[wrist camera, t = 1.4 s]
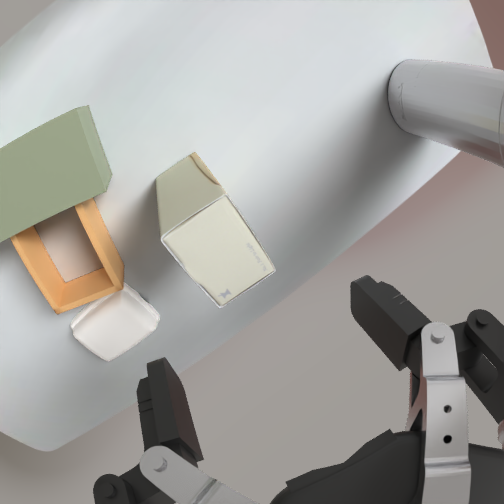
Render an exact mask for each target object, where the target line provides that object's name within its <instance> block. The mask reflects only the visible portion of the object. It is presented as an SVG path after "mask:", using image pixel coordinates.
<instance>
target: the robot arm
mask: <svg viewBox="0 0 504 504" xmlns="http://www.w3.org/2000/svg"><path fill="white" fill-rule="evenodd" d="M388 101H389V106H390V110H391V113H392V116H393V118H394V120H395V121H396V123H397V124H398V125H399V126H400V128H402V129H403V130H404V131H406V132H408V133H411V134H414V135H417V136H421V137H424V138H427V139H430V140H433V141H436V142H439V143H441V144H444V145H447V146H450V147H453V148H456V149H458V150H461V151H464V152H467V153H469V154H472V155H474V156H477V157H479V158H482V159H484V160H487V161H489V162H492V163H494V164H496V165H498V166H501V167H503V168H504V70H499V69H494V68H488V67H482V66H475V65H469V64H461V63H452V62H443V61H433V60H416V59H409V60H405V61H403V62H402V63H400V64H399V65H398V66H397V67H396V68H395V70H394V72H393V73H392V75H391V78H390V82H389V88H388ZM350 287H351V312H352V315H353V317H354V319H355V320H356V321H357V323H358V324H359V325H360V326H361V327H362V328H363V329H364V331H365V332H366V333H367V334H368V335H369V336H370V338H372V340H373V341H374V342H375V343H376V344H377V346H378V347H379V348H380V349H381V350H382V351H383V352H384V354H385V355H386V356H387V357H388V358H389V360H390V361H391V362H392V363H393V364H394V366H395V367H396V368H397V369H398V370H399V371H401V370H402V369H404V368H405V367H408V368H409V369H410V370H411V371H410V394H409V395H410V396H409V413H408V418H407V422H406V429H405V431H402V432H397V433H392V431H391V430H390V429H389V430H387V431H385V432H384V433H382V434H381V435H379V436H377V437H376V438H374V439H372V440H370V441H369V442H367V443H366V444H364V445H363V446H362V447H361V448H360V449H359V450H358V451H357V452H356V453H355V454H353V455H352V456H351V457H350V458H349V459H348V460H347V461H345V462H344V463H341V464H338V465H334V466H330V467H325V468H320V469H316V470H312V471H310V472H307V473H305V474H303V475H301V476H298V477H296V478H294V479H291V480H289V481H286V484H287V487H286V488H285V489H283V490H282V491H281V492H280V493H279V494H277V495H276V497H275V498H274V499H273V500H272V501H271V503H270V504H504V326H503V325H502V324H501V323H500V322H499V321H498V320H497V319H496V318H495V317H494V316H493V315H492V314H491V313H490V312H488V311H486V310H481V309H478V310H474V311H472V312H471V313H470V314H469V316H468V318H467V321H466V322H462V323H459V324H455V325H452V326H448V325H446V324H444V323H441V322H431V321H430V320H429V319H428V318H427V317H426V316H425V315H424V314H423V313H422V312H420V311H419V310H418V309H417V308H416V307H415V306H414V305H413V304H412V303H411V302H410V301H407V299H406V298H405V297H404V296H403V295H401V294H400V292H399V291H398V290H396V289H395V288H394V287H393V286H391V285H389V284H387V283H384V282H382V281H381V282H379V283H376V281H374V280H373V279H372V278H371V277H370V276H368V275H366V276H364V277H361V278H359V279H357V280H355V281H353V282H351V286H350ZM483 354H484V355H485V356H486V357H487V358H486V357H485V356H484V355H483ZM489 361H490V362H491V363H492V364H493V365H494V366H495V367H494V366H493V365H492V364H491V363H490V362H489ZM147 371H148V377H146V378H143V379H140V382H139V385H138V388H137V399H138V404H139V405H138V407H139V412H140V422H141V428H142V435H143V441H144V454H143V455H142V457H141V459H140V462H139V464H138V465H137V466H135V467H134V468H133V469H131V470H129V471H128V472H126V473H124V474H122V475H121V476H119V477H118V476H116V475H113V474H106V475H103V476H101V477H100V478H99V479H98V480H97V481H96V482H95V485H94V488H93V494H94V499H95V504H174V503H176V502H177V503H179V504H259V503H257V502H255V501H253V500H251V499H249V498H248V497H246V496H244V495H242V494H240V493H238V492H237V491H235V490H233V489H232V488H230V487H228V486H226V485H225V484H223V483H221V482H220V481H217V480H216V479H214V478H212V477H210V476H209V475H207V474H205V473H204V472H202V471H201V470H199V469H198V465H197V462H198V461H201V460H203V459H204V458H203V455H202V452H201V449H200V445H199V442H198V439H197V435H196V431H195V428H194V424H193V421H192V417H191V413H190V409H189V405H188V402H187V398H186V394H185V390H184V388H183V385H182V383H181V381H180V379H179V377H178V376H177V374H176V373H175V371H174V370H173V368H172V367H171V365H170V364H169V362H168V361H167V359H166V358H165V357H164V358H161V359H158V360H155V361H152V362H149V363H147ZM465 382H466V383H465ZM466 384H468V386H469V387H470V388H471V390H472V391H473V392H474V393H475V394H476V396H477V397H478V398H479V400H480V401H481V402H482V403H483V405H484V406H485V407H486V409H487V410H488V411H489V413H490V414H491V415H492V416H493V418H494V419H495V420H496V422H497V423H498V424H499V426H498V441H499V442H500V443H501V444H502V449H497V448H492V447H486V446H481V445H476V444H471V443H468V411H467V395H466Z"/></svg>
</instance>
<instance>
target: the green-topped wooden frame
mask: <svg viewBox="0 0 504 504" xmlns="http://www.w3.org/2000/svg"><path fill="white" fill-rule="evenodd" d="M111 177H112V172H111V169H110V166H109V164H108V161H107V158H106V156H105V153H104V150H103V147H102V144H101V141H100V138H99V136H98V133H97V130H96V127H95V124H94V121H93V118H92V114H91V111H90V108H89V105H87V106H83V107H78V108H75V109H73V110H71V111H69V112H67V113H65V114H62V115H60V116H58V117H56V118H54V119H52V120H50V121H48V122H46V123H45V124H43V125H41V126H39V127H37V128H35V129H33V130H31V131H30V132H28V133H26V134H24V135H23V136H21V137H19V138H17V139H16V140H14V141H12V142H11V143H9V144H7V145H6V146H4V147H2V148H1V149H0V243H1V242H2V241H4V240H6V239H8V238H10V239H11V241H12V243H13V245H14V246H15V248H16V250H17V252H18V254H19V255H20V257H21V259H22V261H23V262H24V264H25V266H26V268H27V269H28V271H29V273H30V274H31V276H32V277H33V279H34V281H35V282H36V284H37V285H38V287H39V289H40V290H41V292H42V293H43V295H44V296H45V298H46V299H47V301H48V302H49V304H50V305H51V307H52V308H53V310H54V311H55V313H56V314H60V313H62V312H65V311H68V310H70V309H73V308H75V307H78V306H81V305H83V304H86V303H88V302H91V301H94V300H96V299H99V298H102V297H104V296H107V295H109V294H112V293H115V292H117V291H120V290H123V289H124V264H123V262H122V260H121V258H120V256H119V254H118V252H117V250H116V247H115V245H114V243H113V241H112V239H111V237H110V235H109V233H108V230H107V228H106V226H105V224H104V222H103V219H102V217H101V215H100V213H99V210H98V208H97V206H96V203H95V201H94V199H93V197H95V196H97V195H100V194H102V193H104V192H106V191H107V188H108V185H109V182H110V179H111ZM72 206H74V207H75V209H76V211H77V213H78V215H79V218H80V220H81V222H82V224H83V226H84V228H85V230H86V232H87V235H88V237H89V239H90V241H91V243H92V245H93V247H94V249H95V251H96V253H97V255H98V256H99V258H100V260H101V262H102V264H103V266H104V268H101V269H99V270H96V271H94V272H91V273H89V274H86V275H84V276H81V277H79V278H76V279H74V280H71V281H69V282H67V283H65V282H64V280H63V278H62V277H61V275H60V273H59V272H58V270H57V268H56V267H55V265H54V263H53V261H52V259H51V258H50V256H49V254H48V252H47V250H46V249H45V247H44V245H43V243H42V241H41V239H40V237H39V235H38V233H37V231H36V230H35V228H34V226H33V225H35V224H37V223H39V222H41V221H43V220H45V219H47V218H49V217H51V216H53V215H55V214H57V213H59V212H62V211H64V210H66V209H68V208H70V207H72Z"/></svg>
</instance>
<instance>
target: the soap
mask: <svg viewBox="0 0 504 504" xmlns="http://www.w3.org/2000/svg"><path fill="white" fill-rule="evenodd" d="M159 321H160V316H159V314H158V312H157V311H156V310H155V309H154V308H153V307H152V306H151V304H150V303H149V302H148V303H147V302H146V301H145V300H144V299H143V298H142V297H140V295H139V293H138V292H137V291H135V290H134V289H133V288H131V287H130V286H129V285H127V284H126V283H124V289H123V290H120V291H117V292H115V293H112V294H109V295H107V296H104V297H102V298H99V299H96V300H94V301H91V302H90V303H89V304H88V305H87V306H86V307H84V308H83V309H82V310H81V311H80V312H79V313H78V314H77V315H76V316H75V317H74V318H73V320H72V321H71V324H70V327H71V329H72V330H73V336H74V337H75V338H76V339H77V340H78V341H79V342H80V343H81V344H82V345H84V346H85V347H86V348H87V349H89V350H90V351H91V352H93V353H94V354H96V355H97V356H99V357H100V358H102V359H104V360H105V361H107V362H109V361H111V360H113V359H115V358H116V357H118V356H120V355H122V354H123V353H125V352H126V351H128V350H129V349H131V348H132V347H134V346H135V345H137V344H138V343H139V342H141V341H142V340H143V339H145V338H146V337H147V336H148V335H150V334H151V333H152V332H153V331H154V330H155V329H156V328H157V323H158V322H159Z"/></svg>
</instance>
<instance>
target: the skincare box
mask: <svg viewBox="0 0 504 504" xmlns="http://www.w3.org/2000/svg"><path fill="white" fill-rule="evenodd" d="M156 192H157V206H158V218H159V230H160V240H161V242H162V243H163V245H164V246H165V247H166V248H167V250H168V251H169V252H170V253H171V255H172V256H173V257H174V258H175V259H176V261H177V262H178V263H179V264H180V266H181V267H182V268H183V269H184V270H185V272H186V273H187V274H188V275H189V276H190V277H191V278H192V280H193V281H194V282H195V283H196V284H197V285H198V286H199V287H200V288H201V289H202V290H203V292H204V293H205V294H206V295H207V296H208V297H209V298H210V299H211V300H212V301H213V302H214V303H215V304H216V305H217V307H219V308H222V307H224V306H225V305H226V304H228V303H230V302H231V301H233V300H235V299H236V298H238V297H239V296H241V295H242V294H244V293H245V292H247V291H248V290H250V289H251V288H253V287H254V286H256V285H257V284H259V283H260V282H262V281H263V280H264V279H266V278H267V277H269V276H270V275H272V274H273V273H274V272H275V271H276V269H275V267H274V265H273V263H272V261H271V260H270V258H269V256H268V255H267V253H266V251H265V249H264V248H263V246H262V245H261V243H260V242H259V240H258V238H257V237H256V235H255V234H254V232H253V231H252V229H251V228H250V226H249V225H248V223H247V222H246V220H245V219H244V217H243V216H242V214H241V213H240V211H239V210H238V208H237V207H236V206H235V204H234V203H233V201H232V200H231V198H230V197H229V196H228V194H227V193H226V192H225V190H224V189H223V188H222V186H221V185H220V184H219V182H218V181H217V180H216V178H215V177H214V176H213V174H212V173H211V172H210V170H209V169H208V168H207V166H206V165H205V164H204V162H203V161H202V160H201V158H200V157H199V156H198V155H197V153H196V152H194V153H192V154H190V155H189V156H187V157H186V158H184V159H183V160H181V161H179V162H178V163H176V164H175V165H174V166H172V167H171V168H169V169H168V170H166V171H165V172H163V173H162V174H161V175H159V176H158V177H157V178H156Z"/></svg>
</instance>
